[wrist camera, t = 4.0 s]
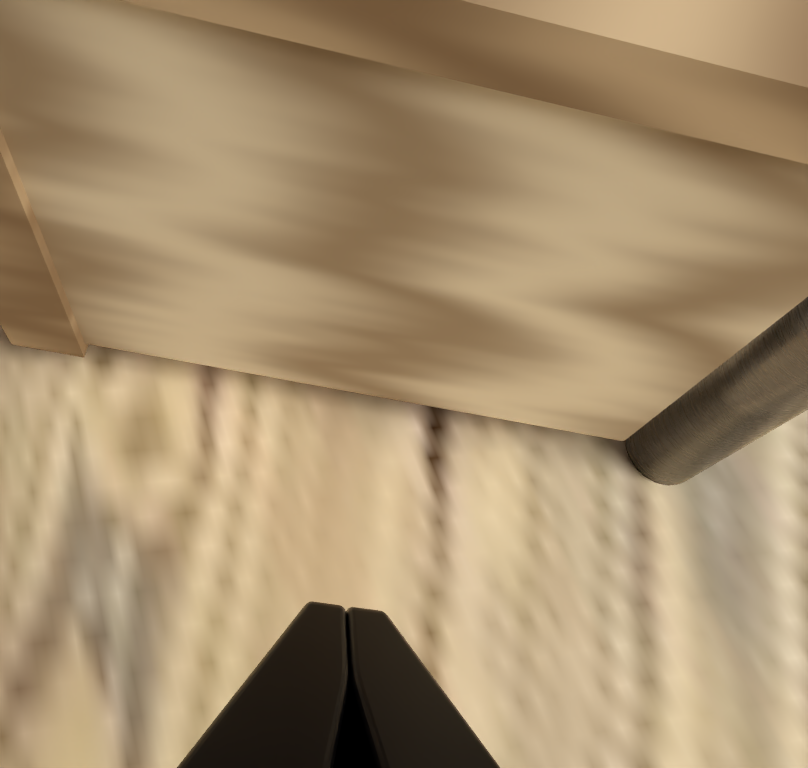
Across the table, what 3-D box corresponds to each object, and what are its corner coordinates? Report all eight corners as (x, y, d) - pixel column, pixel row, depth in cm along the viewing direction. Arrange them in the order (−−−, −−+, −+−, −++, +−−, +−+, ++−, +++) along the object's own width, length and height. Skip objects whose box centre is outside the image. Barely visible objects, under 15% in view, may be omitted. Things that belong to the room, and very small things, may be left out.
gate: (624, 391, 22) (1002, 44, 11) (625, 454, 21) (1039, 145, 10) (37, 279, 20) (-211, -283, 9) (11, 344, 19) (-297, -191, 8)
